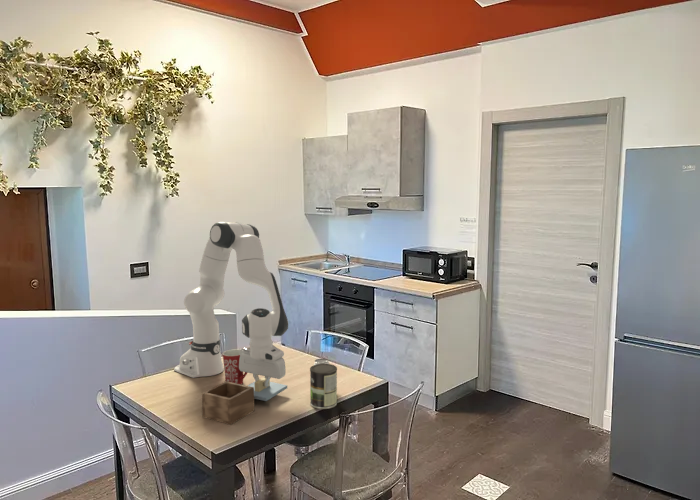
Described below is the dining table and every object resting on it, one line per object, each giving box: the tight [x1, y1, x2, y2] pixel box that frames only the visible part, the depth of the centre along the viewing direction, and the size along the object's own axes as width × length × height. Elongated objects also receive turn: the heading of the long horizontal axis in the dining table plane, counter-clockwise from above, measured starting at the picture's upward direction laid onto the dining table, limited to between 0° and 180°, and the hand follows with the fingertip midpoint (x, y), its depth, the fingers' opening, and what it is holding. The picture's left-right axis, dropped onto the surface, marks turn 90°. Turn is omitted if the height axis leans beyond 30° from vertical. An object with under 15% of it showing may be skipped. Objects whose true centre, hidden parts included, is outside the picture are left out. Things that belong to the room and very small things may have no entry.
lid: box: [246, 376, 288, 402], centre depth 206 cm, size 14×14×6 cm
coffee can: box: [309, 363, 338, 410], centre depth 200 cm, size 10×10×14 cm
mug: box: [221, 348, 248, 385], centre depth 220 cm, size 13×9×14 cm
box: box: [201, 381, 255, 426], centre depth 191 cm, size 13×13×9 cm
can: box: [313, 358, 330, 365], centre depth 215 cm, size 6×6×12 cm
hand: (262, 385), depth 206 cm, fingers closed on lid
